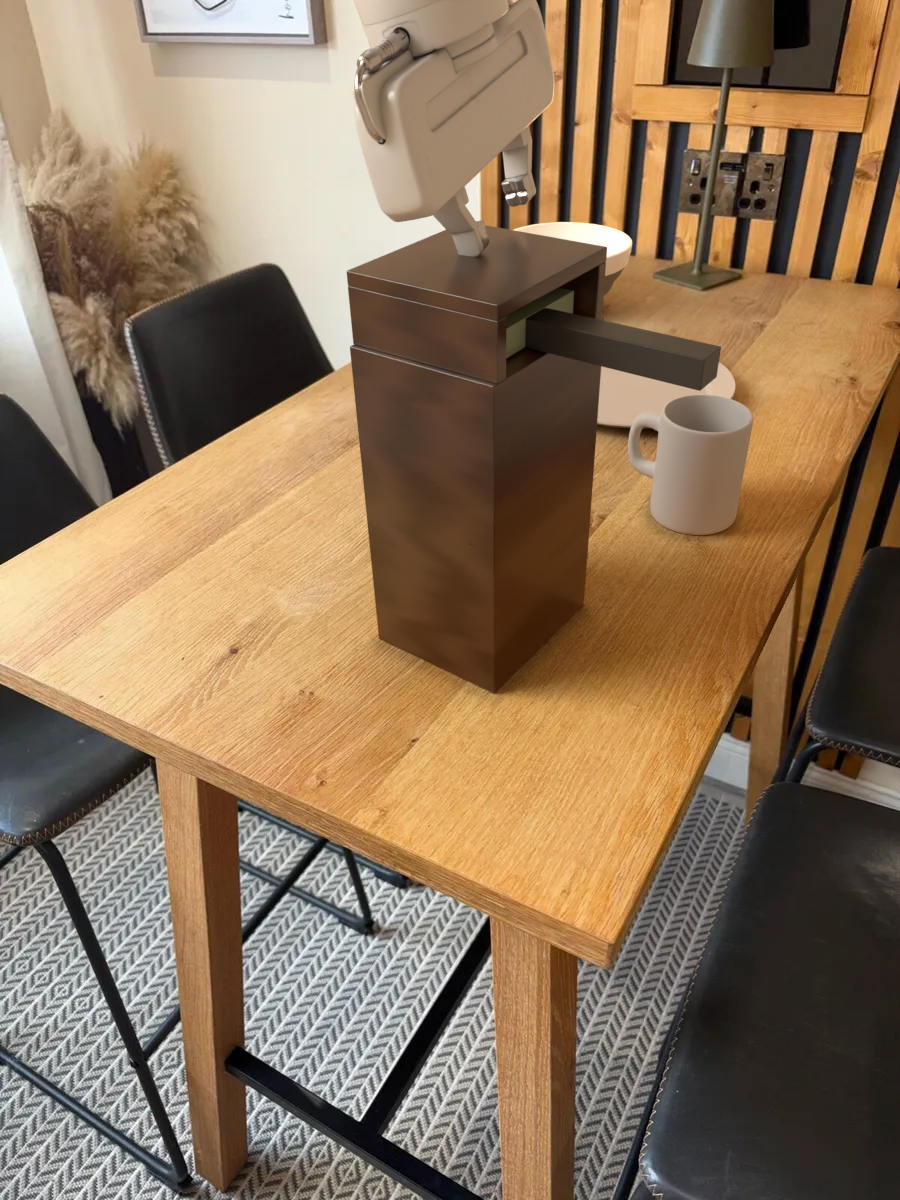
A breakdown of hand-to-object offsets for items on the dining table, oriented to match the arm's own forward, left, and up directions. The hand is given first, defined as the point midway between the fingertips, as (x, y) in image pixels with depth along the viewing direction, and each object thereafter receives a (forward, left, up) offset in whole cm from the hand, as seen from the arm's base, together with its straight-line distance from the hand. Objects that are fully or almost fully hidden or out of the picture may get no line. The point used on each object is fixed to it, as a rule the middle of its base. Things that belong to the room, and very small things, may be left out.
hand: (499, 226), depth 65 cm
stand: (-1, +5, -32) cm, 32 cm away
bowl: (+21, -70, -32) cm, 80 cm away
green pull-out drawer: (-7, +6, -6) cm, 11 cm away
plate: (+2, -44, -32) cm, 55 cm away
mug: (-11, -20, -32) cm, 39 cm away
